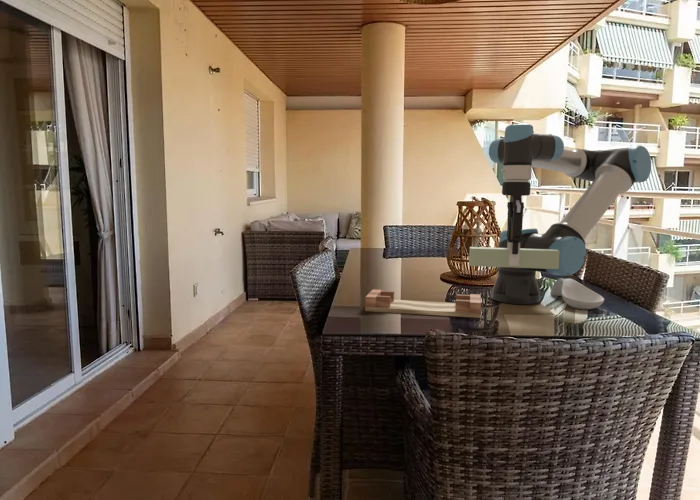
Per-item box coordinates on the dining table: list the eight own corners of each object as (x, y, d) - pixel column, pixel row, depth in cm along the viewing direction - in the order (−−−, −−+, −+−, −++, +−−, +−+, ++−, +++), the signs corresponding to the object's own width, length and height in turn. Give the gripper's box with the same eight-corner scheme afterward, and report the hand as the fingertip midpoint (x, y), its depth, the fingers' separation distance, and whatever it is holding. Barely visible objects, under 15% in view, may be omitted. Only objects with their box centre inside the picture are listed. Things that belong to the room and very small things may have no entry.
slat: (469, 263, 150) (469, 246, 149) (555, 267, 146) (556, 249, 145) (469, 265, 146) (470, 248, 145) (558, 269, 142) (559, 251, 141)
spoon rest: (611, 312, 151) (613, 288, 151) (572, 313, 151) (574, 289, 150) (572, 295, 175) (573, 275, 174) (538, 296, 174) (539, 275, 173)
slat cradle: (372, 302, 163) (372, 289, 162) (479, 308, 155) (480, 294, 155) (365, 310, 151) (365, 297, 151) (480, 317, 144) (481, 303, 143)
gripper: (499, 181, 152) (495, 259, 155) (506, 180, 135) (502, 268, 138) (525, 181, 151) (521, 260, 153) (536, 180, 134) (531, 269, 137)
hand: (512, 264), depth 146 cm, fingers closed on slat, 4 cm apart
